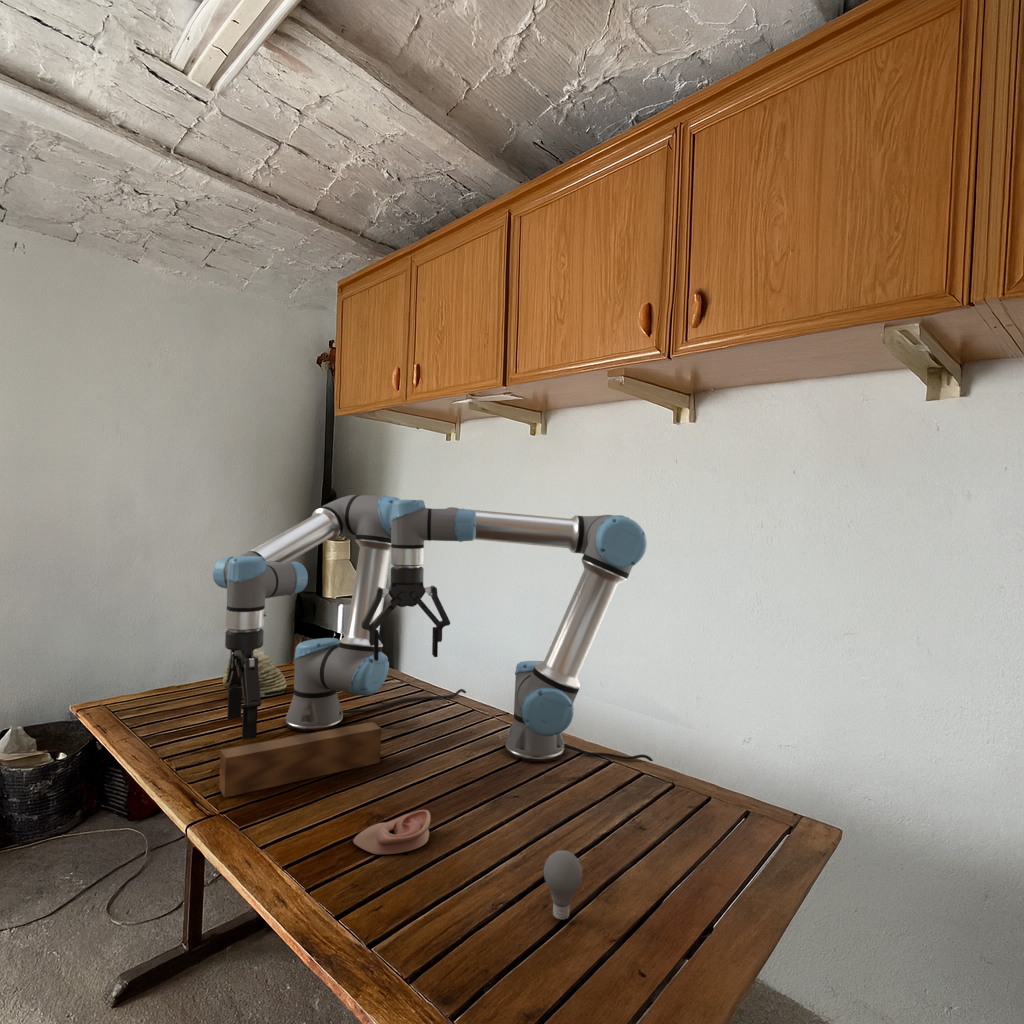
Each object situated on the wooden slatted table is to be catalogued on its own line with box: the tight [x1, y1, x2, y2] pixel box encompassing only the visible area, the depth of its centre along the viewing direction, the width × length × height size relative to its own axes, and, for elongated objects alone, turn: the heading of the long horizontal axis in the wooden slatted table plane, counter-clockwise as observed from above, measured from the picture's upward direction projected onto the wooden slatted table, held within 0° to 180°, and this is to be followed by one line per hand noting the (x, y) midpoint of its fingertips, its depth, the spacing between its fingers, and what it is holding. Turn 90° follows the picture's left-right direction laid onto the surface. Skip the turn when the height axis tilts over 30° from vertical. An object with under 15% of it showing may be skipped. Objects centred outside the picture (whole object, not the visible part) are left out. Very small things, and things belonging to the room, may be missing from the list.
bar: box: [218, 721, 382, 799], centre depth 144 cm, size 35×5×8 cm, turn 126°
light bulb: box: [543, 849, 583, 920], centre depth 98 cm, size 6×6×10 cm
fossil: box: [222, 647, 288, 699], centre depth 198 cm, size 9×18×15 cm, turn 132°
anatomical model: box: [352, 809, 431, 856], centre depth 118 cm, size 13×4×12 cm
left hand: (241, 727), depth 135 cm, fingers open, 13 cm apart
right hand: (405, 657), depth 147 cm, fingers open, 13 cm apart
